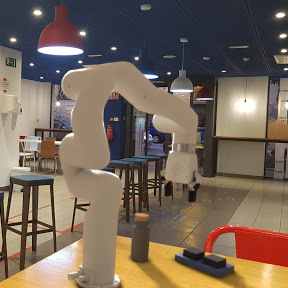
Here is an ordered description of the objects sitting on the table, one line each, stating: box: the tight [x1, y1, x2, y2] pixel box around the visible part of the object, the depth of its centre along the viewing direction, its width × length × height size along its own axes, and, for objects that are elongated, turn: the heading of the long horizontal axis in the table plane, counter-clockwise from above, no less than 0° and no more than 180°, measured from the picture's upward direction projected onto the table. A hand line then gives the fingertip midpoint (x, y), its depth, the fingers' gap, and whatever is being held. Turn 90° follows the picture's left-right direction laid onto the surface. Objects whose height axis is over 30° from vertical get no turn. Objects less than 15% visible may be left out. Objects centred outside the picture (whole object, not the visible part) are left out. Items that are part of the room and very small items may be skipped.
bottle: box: [130, 212, 151, 263], centre depth 126 cm, size 6×6×15 cm
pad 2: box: [203, 253, 228, 269], centre depth 120 cm, size 5×5×4 cm
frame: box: [174, 251, 235, 279], centre depth 123 cm, size 9×16×2 cm, turn 37°
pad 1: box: [182, 246, 206, 261], centre depth 125 cm, size 5×5×4 cm
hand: (179, 199), depth 127 cm, fingers open, 9 cm apart
